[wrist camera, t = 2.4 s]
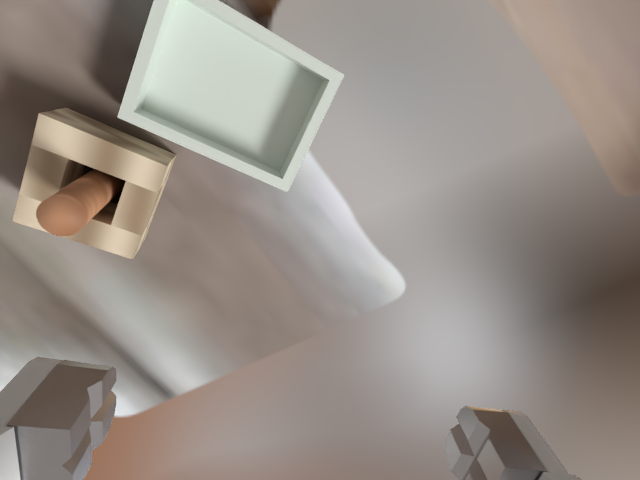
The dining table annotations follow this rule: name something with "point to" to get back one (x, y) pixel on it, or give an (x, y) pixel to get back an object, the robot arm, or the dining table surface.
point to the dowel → (77, 203)
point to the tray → (228, 89)
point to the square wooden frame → (101, 154)
